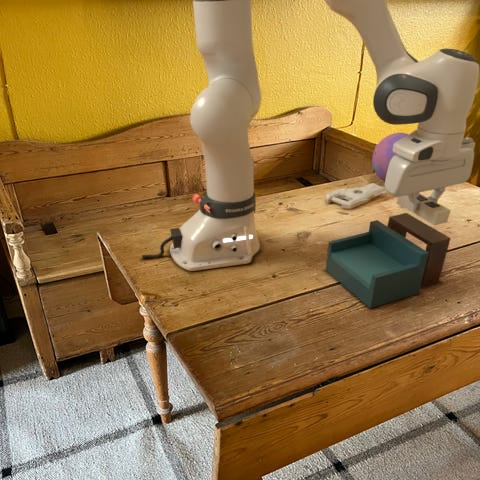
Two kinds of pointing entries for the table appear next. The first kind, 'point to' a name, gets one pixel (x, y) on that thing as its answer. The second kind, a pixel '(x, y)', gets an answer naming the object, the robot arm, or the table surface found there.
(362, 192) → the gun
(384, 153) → the decorative ball
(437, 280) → the brown wooden box
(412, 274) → the teal armchair
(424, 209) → the remote
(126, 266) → the table surface
